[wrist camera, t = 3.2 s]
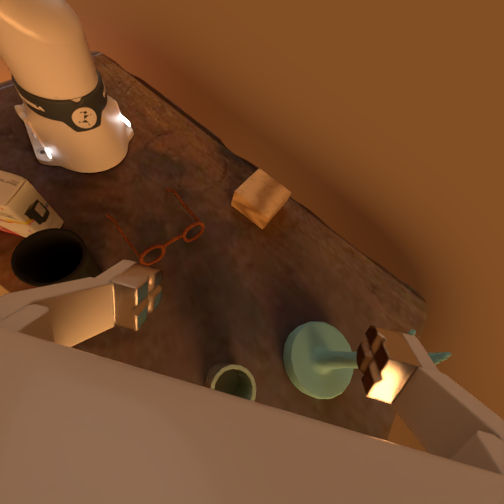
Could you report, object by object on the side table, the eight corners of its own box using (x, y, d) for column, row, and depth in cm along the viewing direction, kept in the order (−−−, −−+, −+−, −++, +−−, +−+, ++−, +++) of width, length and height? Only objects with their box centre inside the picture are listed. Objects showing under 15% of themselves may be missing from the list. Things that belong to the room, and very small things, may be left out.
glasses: (144, 270, 43) (139, 260, 39) (105, 216, 45) (97, 201, 41) (204, 234, 49) (206, 222, 44) (168, 188, 51) (166, 172, 46)
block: (230, 204, 53) (234, 190, 49) (253, 182, 57) (259, 167, 53) (262, 229, 53) (269, 218, 48) (283, 205, 57) (291, 192, 52)
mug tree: (354, 369, 46) (515, 383, 24) (307, 413, 41) (453, 482, 19) (317, 311, 49) (429, 273, 26) (268, 345, 44) (355, 334, 21)
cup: (58, 310, 38) (8, 292, 27) (58, 264, 40) (12, 231, 29) (113, 299, 40) (87, 278, 29) (110, 257, 43) (84, 224, 32)
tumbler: (197, 380, 39) (200, 388, 30) (225, 354, 41) (237, 354, 32) (219, 412, 38) (229, 430, 29) (247, 384, 40) (265, 392, 31)
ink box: (-6, 229, 40) (-74, 184, 29) (13, 206, 42) (-45, 156, 31) (49, 244, 41) (3, 206, 30) (65, 221, 43) (27, 177, 33)
